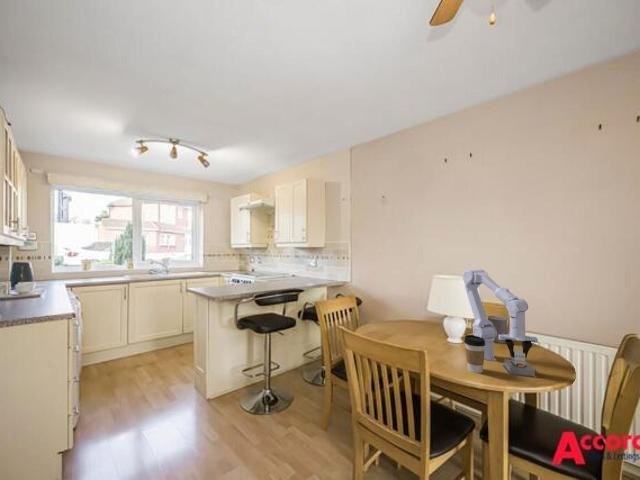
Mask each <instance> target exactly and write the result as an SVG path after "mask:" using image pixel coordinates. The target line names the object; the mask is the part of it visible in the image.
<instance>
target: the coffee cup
mask: <svg viewBox="0 0 640 480" xmlns="http://www.w3.org/2000/svg"><path fill="white" fill-rule="evenodd" d="M463 343H464V344H465V347H464V349H465V357H466V364H467V371H468V372H470V373H476V374H481V373H484V364H485V363H484V362H485V360H484V351H485V349H484V346H485V340H484V339H483V338H481V337H478V336H474V334H473V335H471V334H466V335H464V340H463Z"/></svg>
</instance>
